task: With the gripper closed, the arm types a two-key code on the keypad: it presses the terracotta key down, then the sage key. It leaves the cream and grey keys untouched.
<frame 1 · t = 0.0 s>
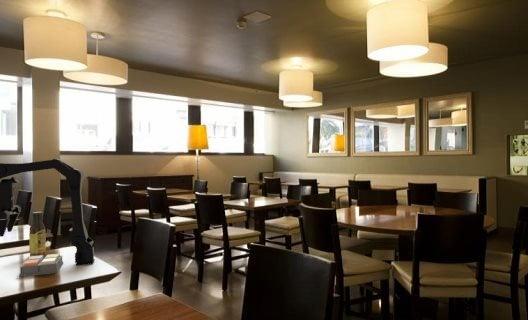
hand: (5, 234, 146), 15 cm above the table, fingers open, 9 cm apart
keypad housing: (42, 269, 147), on the table
grey key: (35, 259, 148), point 4 cm above the table, slide at 0.0 cm
sauce bottle: (37, 256, 167), on the table
sage key: (52, 258, 150), point 4 cm above the table, slide at 0.0 cm
terracotta key: (31, 263, 143), point 4 cm above the table, slide at 0.0 cm
cream key: (49, 262, 145), point 4 cm above the table, slide at 0.0 cm
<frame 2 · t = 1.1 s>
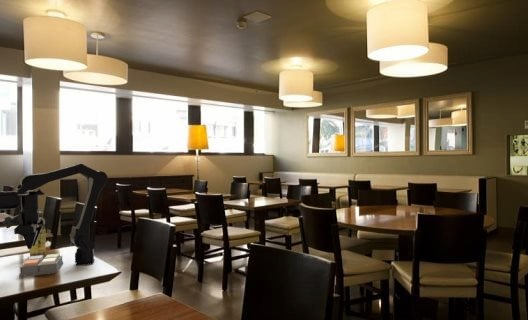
hand: (31, 247, 143), 10 cm above the table, fingers open, 4 cm apart
nothing on the table moved.
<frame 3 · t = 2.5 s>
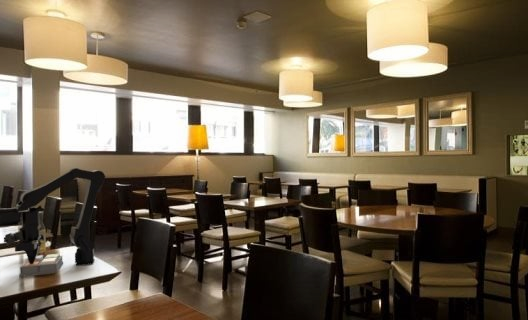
hand: (31, 263, 143), 4 cm above the table, fingers closed, pressing on terracotta key
terracotta key: (31, 266, 143), point 3 cm above the table, slide at 0.9 cm, touching gripper
everything else where it was.
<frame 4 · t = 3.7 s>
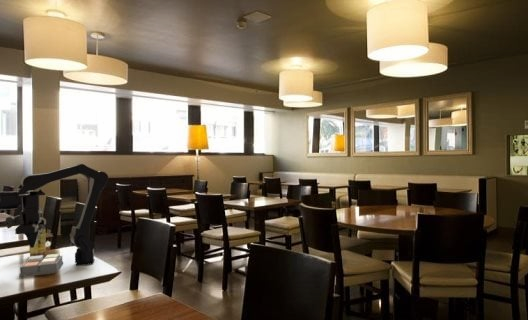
hand: (32, 247, 143), 10 cm above the table, fingers closed
terracotta key: (31, 266, 143), point 3 cm above the table, slide at 0.9 cm
everything else where it was.
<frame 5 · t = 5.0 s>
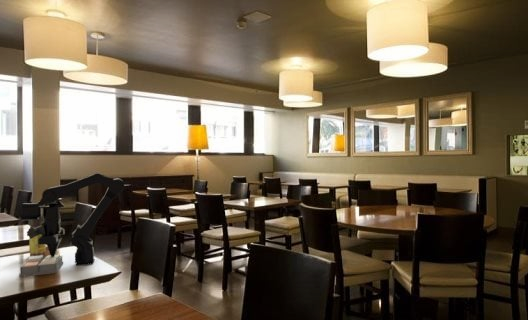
hand: (52, 256, 150), 4 cm above the table, fingers closed, pressing on sage key
sage key: (52, 258, 150), point 3 cm above the table, slide at 0.4 cm, touching gripper
everything else where it was.
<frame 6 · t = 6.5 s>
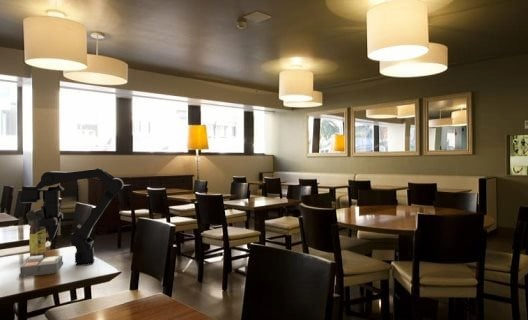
hand: (51, 239, 151), 11 cm above the table, fingers closed
sage key: (52, 260, 150), point 3 cm above the table, slide at 0.9 cm
everything else where it was.
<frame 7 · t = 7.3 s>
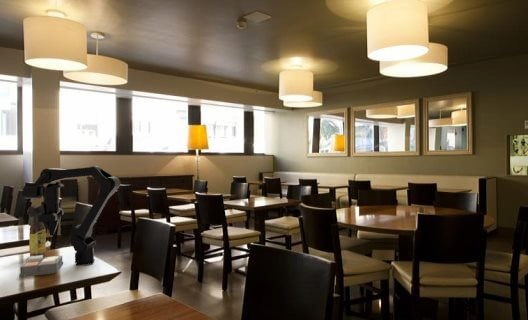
hand: (51, 235, 155), 12 cm above the table, fingers closed
nothing on the table moved.
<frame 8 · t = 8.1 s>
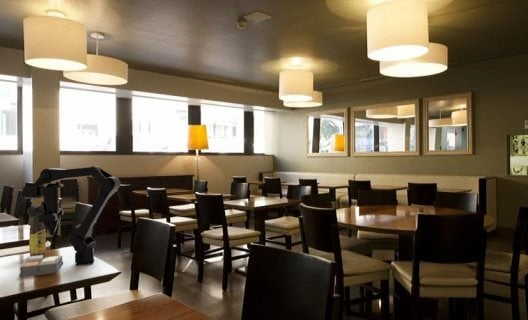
hand: (51, 235, 155), 12 cm above the table, fingers closed
nothing on the table moved.
at the end: terracotta key slide at 0.9 cm; sage key slide at 0.9 cm; cream key slide at 0.0 cm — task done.
